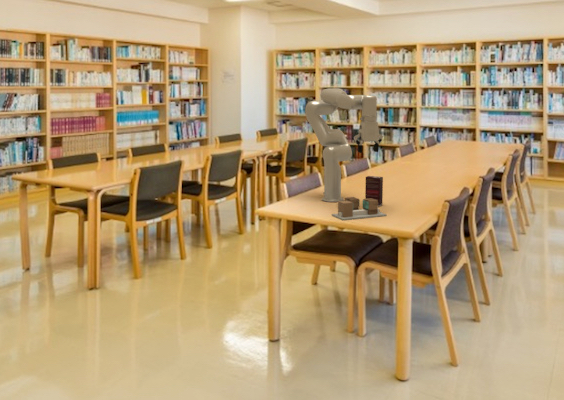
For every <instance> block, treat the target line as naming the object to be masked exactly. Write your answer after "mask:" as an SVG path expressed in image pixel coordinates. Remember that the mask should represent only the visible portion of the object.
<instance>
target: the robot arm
mask: <svg viewBox="0 0 564 400" xmlns="http://www.w3.org/2000/svg"><path fill="white" fill-rule="evenodd" d="M319 98H320V99H317V100H311V101H309V102H307V103H306V105H305V109H304V110H305V111H304V114H305V117H306V120H307V121H308V123H309V125H310V126H311V128H312V130H313V132H314V134H315V136H316V138H317V141H318V143H319V144H320V145H321V146H322V147H324V149H323V150H322V158H323V165H324V166H323V167H324V171H323V172H324V178H323V179H324V182H323V183H324V186H323V187H324V189H323V190H324V191H323V193H322V194H323V195H324V196H322V197H321V201H323V202H328V203H338V201H344V197H342V167H341V165H340V164H339V163H340V162H347V161H348V160H350V159H351V158H352V156H353V152H352V148H351V145H350V143H349V141H348V139H347V136H346V135H345V133H344V132H343V131H342V130H341V129H339V128H332V129H331V128H330V127H329V126H328V123H327V121H326V120H325V119H324V118H323V117H321V116H326V115H327V116H328V115H332V114H333V113H335V111H337V109H338V108H340V109H344V110H351V111H352V110H361V117H359V120H360V124H359V130H358V133H357V134H356V135H354V137H353V139H354V142H355V144H356V145H357V153H359V154H362V153H363V143H364V142H367V143H368V142H369V143H370V142H373V143H374V144H373V152H375V153H379V151H380V150H379V148H380V147H379V146H380V144H381V142H382V140H383V138H384V135H383V134H381V133H380V130H379V129H380V128H379V123H378V121H377V105H378V101H377V100H378V99H377V96H376V95H367V94H347V92H346V91H344V89H342V88H339V87H337V88H332V87H331V88H329V87H328V88H325V89H323V90H321V93H320V97H319Z"/></svg>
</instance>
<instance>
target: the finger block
mask: <svg viewBox="0 0 564 400" xmlns="http://www.w3.org/2000/svg"><path fill="white" fill-rule="evenodd" d="M378 207H379V206H378V200H375V199H372V198H369V199H365V198H363V199H362V209H368V214H369V215H371V214H377V213H378V209H379V208H378Z"/></svg>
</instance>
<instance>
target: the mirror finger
mask: <svg viewBox="0 0 564 400" xmlns="http://www.w3.org/2000/svg"><path fill="white" fill-rule="evenodd" d="M344 201H350V202H352V203H353V210H360V202H361V201H360V198H359V197H358V198H357V197H354V196H351V197H350V196H349V197H344Z"/></svg>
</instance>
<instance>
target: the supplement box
mask: <svg viewBox="0 0 564 400" xmlns="http://www.w3.org/2000/svg"><path fill="white" fill-rule="evenodd" d="M383 182H384V177H383V176H374V175H367V176H365V197H364V199H369V198H372V199H375V200H378V207H381V206H383V195H384V194H383V191H384V190H383V188H384V185H383V184H384V183H383Z"/></svg>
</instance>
